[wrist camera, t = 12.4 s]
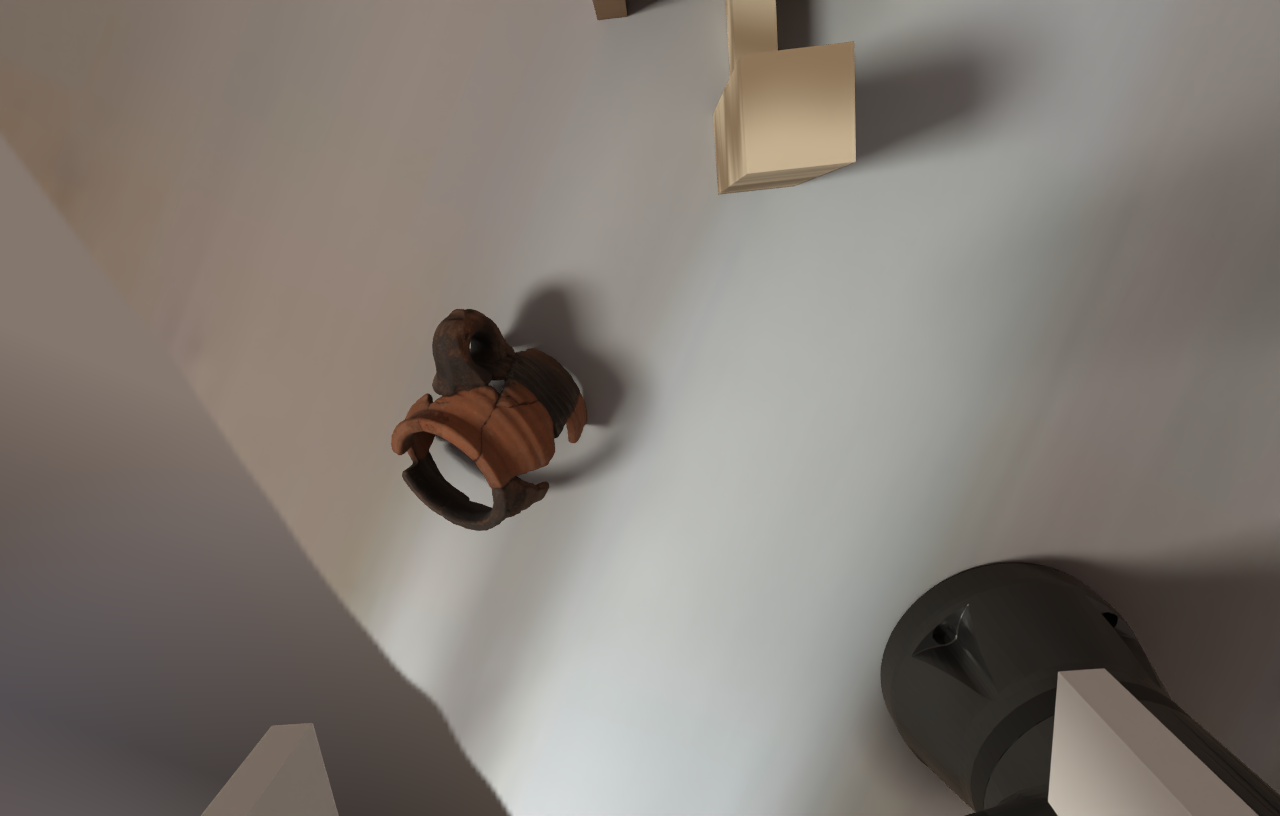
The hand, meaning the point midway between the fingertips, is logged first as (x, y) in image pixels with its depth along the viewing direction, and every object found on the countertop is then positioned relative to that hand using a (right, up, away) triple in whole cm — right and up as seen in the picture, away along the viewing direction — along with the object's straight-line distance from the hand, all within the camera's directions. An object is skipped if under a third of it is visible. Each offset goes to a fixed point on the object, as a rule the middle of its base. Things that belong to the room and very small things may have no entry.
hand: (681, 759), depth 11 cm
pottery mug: (-9, +7, +26) cm, 29 cm away
